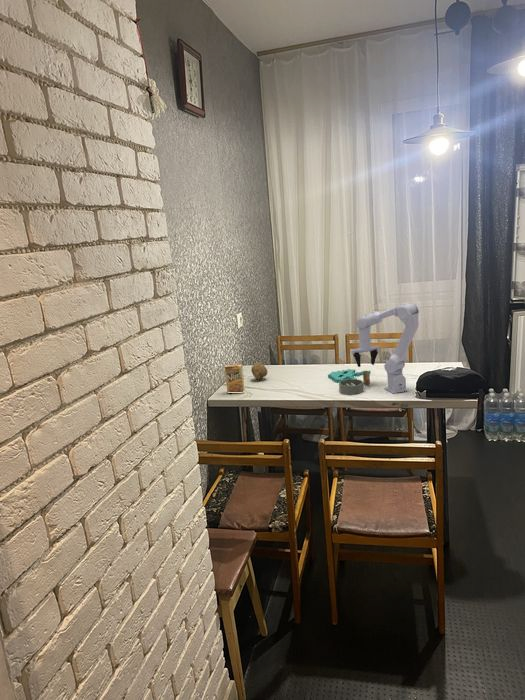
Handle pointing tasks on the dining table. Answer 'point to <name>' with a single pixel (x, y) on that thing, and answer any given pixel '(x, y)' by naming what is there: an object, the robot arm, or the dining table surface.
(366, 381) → the wood wick
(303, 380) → the dining table surface
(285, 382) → the dining table surface
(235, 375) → the candy box
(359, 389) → the grey round bowl
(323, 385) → the dining table surface
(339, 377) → the alien figure
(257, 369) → the natural sponge
